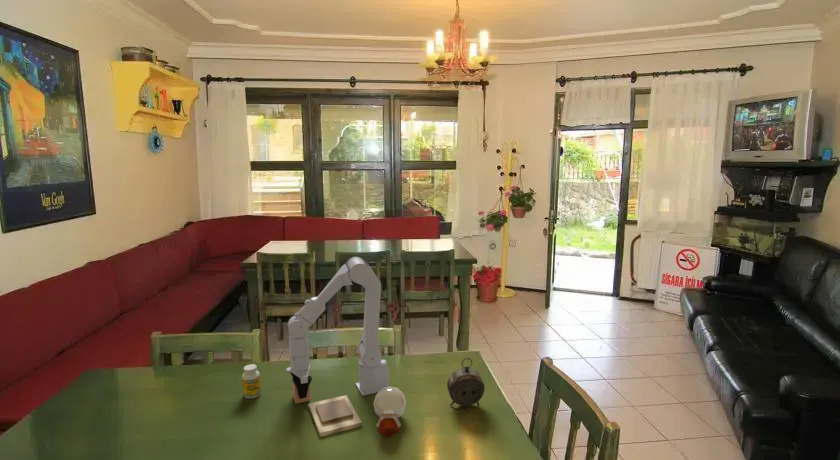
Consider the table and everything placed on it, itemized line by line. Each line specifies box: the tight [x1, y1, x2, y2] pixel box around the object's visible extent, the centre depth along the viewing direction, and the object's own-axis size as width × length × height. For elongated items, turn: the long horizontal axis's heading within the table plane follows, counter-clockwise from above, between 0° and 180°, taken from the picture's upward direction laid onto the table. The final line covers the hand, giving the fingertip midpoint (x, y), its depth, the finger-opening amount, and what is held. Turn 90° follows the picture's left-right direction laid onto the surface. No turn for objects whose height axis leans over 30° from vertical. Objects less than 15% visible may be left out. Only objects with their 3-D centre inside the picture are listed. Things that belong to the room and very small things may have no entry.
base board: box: [308, 394, 363, 438], centre depth 138 cm, size 12×16×2 cm
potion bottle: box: [373, 385, 407, 439], centre depth 134 cm, size 9×10×15 cm
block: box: [291, 378, 311, 404], centre depth 147 cm, size 4×4×6 cm
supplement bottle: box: [241, 363, 262, 399], centre depth 149 cm, size 5×5×10 cm
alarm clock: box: [446, 357, 485, 412], centre depth 141 cm, size 11×5×16 cm, turn 96°
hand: (301, 393), depth 147 cm, fingers closed on block, 4 cm apart
